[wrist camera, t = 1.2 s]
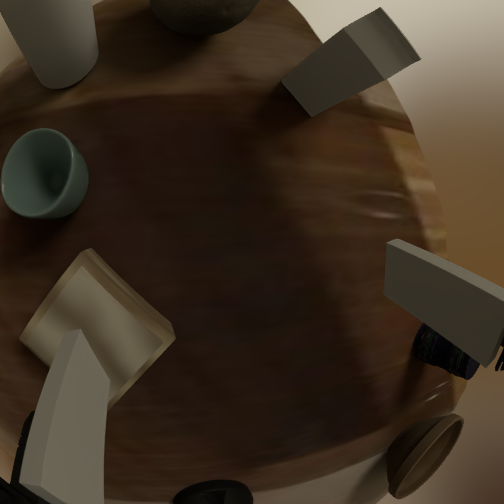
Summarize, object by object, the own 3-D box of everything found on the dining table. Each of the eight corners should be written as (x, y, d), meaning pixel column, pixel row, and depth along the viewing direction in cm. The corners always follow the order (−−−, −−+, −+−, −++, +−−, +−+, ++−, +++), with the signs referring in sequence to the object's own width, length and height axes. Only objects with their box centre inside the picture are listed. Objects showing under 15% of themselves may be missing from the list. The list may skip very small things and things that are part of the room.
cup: (30, 213, 25) (-10, 208, 15) (48, 149, 25) (17, 122, 15) (85, 227, 27) (59, 227, 18) (103, 161, 27) (87, 134, 18)
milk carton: (310, 118, 36) (412, 68, 19) (279, 81, 34) (366, 10, 17) (336, 97, 38) (429, 52, 20) (307, 64, 36) (391, 3, 18)
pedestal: (109, 389, 29) (106, 416, 24) (33, 324, 25) (15, 341, 20) (171, 323, 32) (176, 342, 26) (91, 247, 28) (79, 252, 22)
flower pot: (366, 446, 50) (401, 474, 38) (438, 382, 59) (472, 397, 46) (366, 489, 55) (392, 511, 43) (428, 436, 64) (454, 451, 52)
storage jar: (408, 363, 50) (460, 387, 37) (417, 321, 50) (475, 339, 36) (430, 353, 54) (478, 372, 40) (439, 315, 53) (490, 329, 39)
